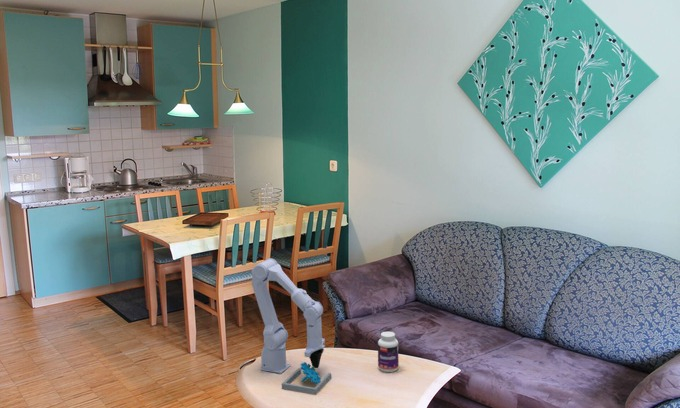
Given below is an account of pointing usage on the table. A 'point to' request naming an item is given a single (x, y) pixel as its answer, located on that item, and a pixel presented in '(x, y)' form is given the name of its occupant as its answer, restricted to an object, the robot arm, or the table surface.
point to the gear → (310, 373)
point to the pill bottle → (388, 352)
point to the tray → (304, 389)
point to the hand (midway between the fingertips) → (315, 367)
